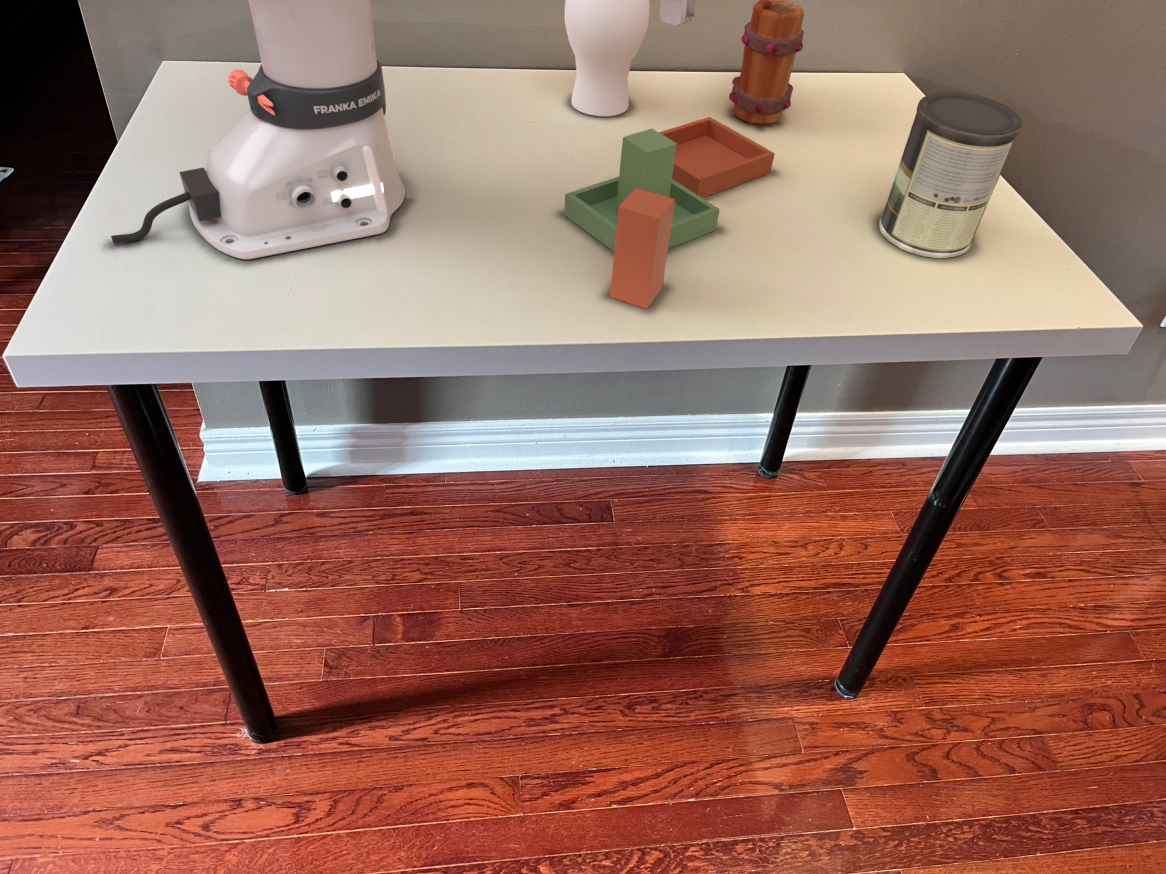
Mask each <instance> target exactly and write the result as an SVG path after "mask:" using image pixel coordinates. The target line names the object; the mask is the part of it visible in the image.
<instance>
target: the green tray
mask: <svg viewBox="0 0 1166 874" xmlns="http://www.w3.org/2000/svg"><path fill="white" fill-rule="evenodd" d="M618 183H619V175H618V176H616V177H613V178H609V179H606V180H604V181H600V182H596V183H594V184H592V185H588V186H584V187H582V188H579V189H576V190H573V191H570V192H567V193H565V195H564V211H563V212H564V216H565V217H566V218H568V219H569V220H570V221H572V222H573V223H574V224H576V225H577V226H579V227H580V228H581V229H583V230H584V231H585V232H587V234H589V235H591V236H592V237H593V238H594V239H596V240H598V242H600V243H601V244H602V245H604V246H606V247H607V248H608V249H610V250H611V251H612V252H614V250H615V241H616V231H617V221H618V216H617V215H616V204H617V193H618ZM669 197H670V198H673V199H675V206H674V212H673V219H672V226H671V232H670V239H669V246H668V250H669V249H671V248H673V247H677V246H679V245H681V244H684V243H686V242H689V241H691V240H694V239H697V238H699V237H703V236H705V235H707V234H709V233H712V232H714V231H717V227H718V220H719V216H720V208H719V207H717V206H716V205H714V204H712V203H711V202H709V201H708V200H706V199H705V198H704V197H703V198H701V197H700V196H698V195H697V194H695V193H693V192H692V191H690V190H689V189H687V188H686V187H684V186H682V185H681V184H679V183H678V182H676V181H675V180H673V179H672V181H671V188H670V195H669Z"/></svg>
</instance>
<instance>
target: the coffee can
mask: <svg viewBox="0 0 1166 874" xmlns="http://www.w3.org/2000/svg"><path fill="white" fill-rule="evenodd" d="M1022 128H1023V121H1022V119H1021V116H1019V114H1018V113H1017V112H1016V111H1014V110H1013V109H1012V108H1010V107H1008V106H1007V105H1005V104H1003V103H1002V102H999V101H996V100H994V99H991V98H988V97H984V96H982V95H981V96H980V95H978V94H974V93H966V92H958V91H943V92H933V93H930V94H926V95H925V96H923V97H922V98H921V99H919V101H918V103H917V106H916V112H915V116H914V118H913V122H912V125H911V128H910V131H909V134H908V138H907V140H906V143H905V146H904V150H903V153H902V156H901V158H900V161H899V164H898V167H897V169H896V174H895V176H894V179H893V182H892V186H891V187H890V191H889V194H888V197H887V200H886V202H885V206H884V209H883V213H882V216H881V217H880V219H879V222H878V228H879V232H880V233H881V234H882V236H883V238H885V239H886V240H887V241H888V242H889V243H891V244H892V245H893V246H895V247H897V248H898V249H900V250H903V251H905V252H907V253H910V254H914V255H916V256H920V257H923V258H924V257H925V258H931V259H948V258H949V259H950V258H955V257H959V256H961V255H963V254H965V253H966V252H968V251H969V250H970V248H971V246H972V242H973V239H974V237H975V235H976V232H977V230H978V228H979V225H980V223H981V220H982V219H983V216H984V214H985V212H986V209H987V207H988V205H989V202H990V200H991V197H992V196H993V193H994V190H995V188H996V186H997V183H998V182H999V179H1000V177H1001V174H1002V172H1003V169H1004V167H1005V164H1006V162H1007V159H1008V157H1009V155H1010V153H1011V151H1012V148H1013V145H1014V144H1015V141H1016V139H1017V137H1018V136H1019V134H1020V133H1021V130H1022Z"/></svg>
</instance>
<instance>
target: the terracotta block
mask: <svg viewBox="0 0 1166 874" xmlns="http://www.w3.org/2000/svg"><path fill="white" fill-rule="evenodd" d="M674 206H675V199H673V198H670V197H666V196H663V195H659V194H656V193H653V192H649V191H646V190H642V189H639V188H635V190H634V191H633V192H632V193H631V194H630V195H629V196H628V197H627V198H626V199H625V200H624V201H623V202H622V204H621V205H620V206H619V211H618V221H617V231H616V241H615V250H614V251H613V261H612V272H611V281H610V291H609V298H612V299H615V300H618V301H621V302H624V303H627V304H629V305H633V306H636V307H639V308H642V309H645V310H647V309H648V308H649V307H650V305H651V304H652V303H653V301H655V299H656V298H657V296H658V295H659V293H661V291H662V290H663V284H664V280H665V279H664V278H665V273H666V265H667V258H668V252H669V251H668V250H669V249H668V246H669V239H670V232H671V226H672V219H673V212H674Z"/></svg>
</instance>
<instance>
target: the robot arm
mask: <svg viewBox="0 0 1166 874" xmlns="http://www.w3.org/2000/svg"><path fill="white" fill-rule="evenodd" d="M247 1H248V5H249V10H250V14H251V19H252V20H251V21H252V24H253V28H254V32H255V38H256V43H257V48H258V52H259V56H260V57H259V58H260V62H261V64H260V66H259V68H258V71H257V73H256V74H255V76H254V77H253V78H252V77H251V76H250V75H248V73H247V72H245V71H244V70H243V69H239V68H237V69H236V68H235V69H233V70H232V71H230V72H229V75H228V76H227V79H228V80H227V82H228V83H229V86H230V88H232V89H233V90H234V91H235V92H236V93H237V94H238V95H240V96H245V97H246V96H247V99H248V104H249V108H250V109H248V111H246V113H245V114H244V115H242V117H241V118H240V119H239V120H238V121H237V122H236V123H235V124H234V126H233V127H232V128H231V129H230V130H229V131H228V132H227V133H226V134H225V135H224V136H223V137H222V138H221V139H220V140H219V141H218V142H216V144H215V145H214V146H212V148H211V149H210V150H209V152H208V153H207V156H206V157H207V158H206V163H205V168H204V167H199V168H198V167H197V168H193V169H188V170H184V171H179V176H180V179H181V183H182V187H183V190H184V192H183V193H180V194H178V195H176V196H173V197H171V198H168V199H167V200H163V201H162V202H159V203H158V204H156V205H154V207H152V208H151V209H150V210H148V212H147V213H146V214H145V216H144V218H143V222H142V226H141V227H140V229H138V230H137V231H134V232H132V233H125V234H123V233H121V234H114V235H111V236H110V238H111V240H112V243H113V245H115V244H123V243H132V242H138V241H139V240H142V239H144V238H145V237H147V236H148V235H149V234H150V232H151V230H152V226H153V223H154V220H155V219H156V218H157V217H158V216H159V215H161V214H162V213H164V212H165V211H167V210H168V209H171V208H173V207H176V206H178V205H181V204H183V203H185V202H188V204H189V205H188V208H189V214H190V215H189V216H190V218H191V222H192V223H193V225H194V228H195V229H196V230H197V232H198V233H199V235H200V236H202V238H203V239H204V240H205V241H206V242H208V244H209V245H211V246H212V247H213V248H216V250H218V251H219V252H222V253H224V254H225V255H228V256H231V257H233V258H237V259H241V260H252V259H259V258H264V257H268V256H274V255H279V254H283V253H289V252H294V251H299V250H304V249H308V248H315V247H319V246H325V245H331V244H334V243H335V244H336V243H340V242H345V241H351V240H356V239H360V238H365V237H366V238H367V237H371V236H376V235H381V234H383V233H385V232H387V230H388V229H389V226H390V221H391V217H392V215H393V214H394V213H395V212H396V211H398V209H399V208H400V207H401V205H402V204H403V202H404V200H405V198H406V188H405V185H404V183H403V181H402V178H401V176H400V173H399V171H398V168H397V164H396V162H395V159H394V155H393V152H392V148H391V147H392V146H391V144H390V138H389V134H388V129H387V125H386V124H387V123H386V118H385V116H386V113H387V102H386V87H385V81H384V75H383V66H382V64H381V63H380V61H379V59H378V58H377V47H376V39H375V27H374V17H373V9H372V8H373V7H372V0H247ZM695 6H696V0H659V19H660V21H661V23H662V24H664V25H668V26H673V27H679V26H682V25H684V24H687V23H689V22H691V21H693V19H694V17H695Z"/></svg>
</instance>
